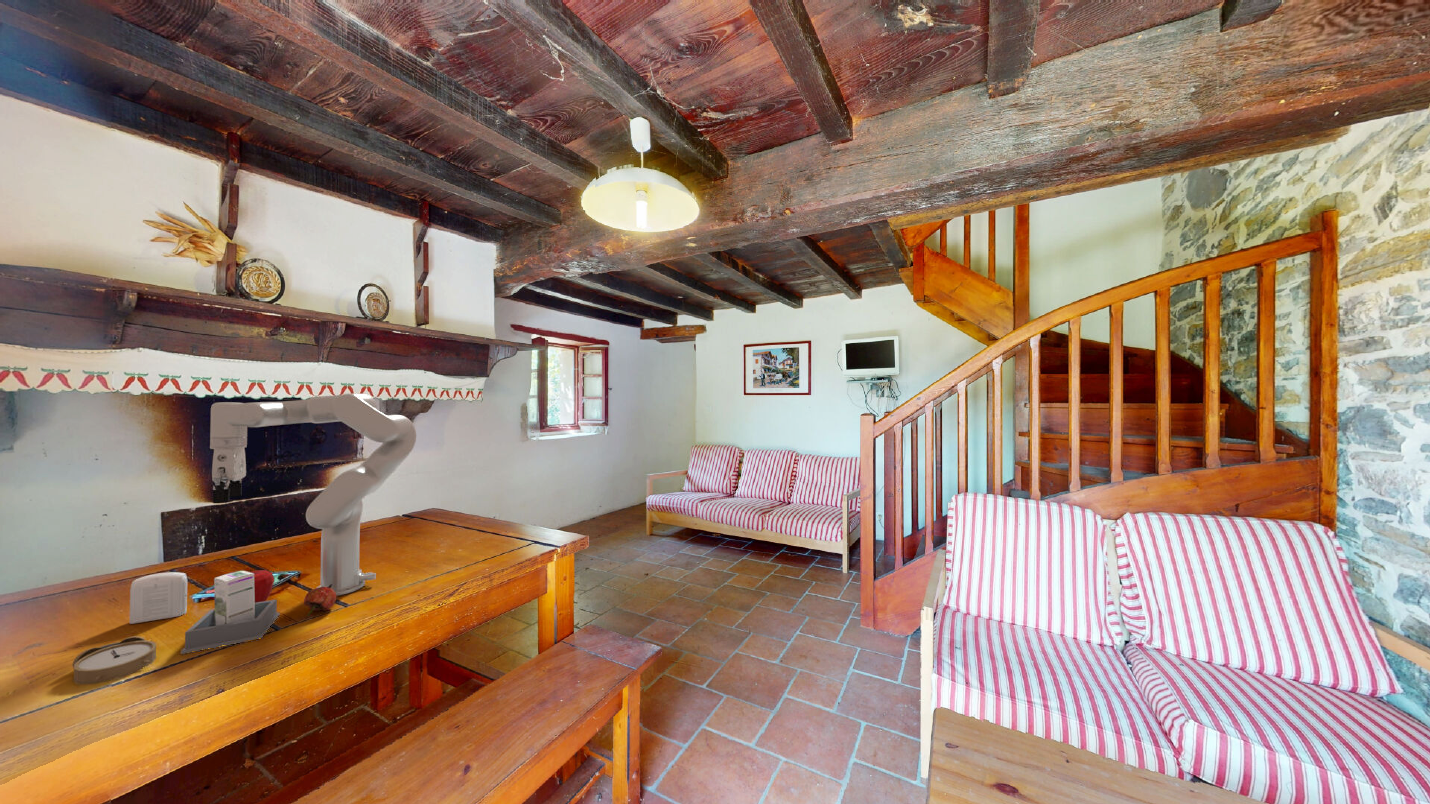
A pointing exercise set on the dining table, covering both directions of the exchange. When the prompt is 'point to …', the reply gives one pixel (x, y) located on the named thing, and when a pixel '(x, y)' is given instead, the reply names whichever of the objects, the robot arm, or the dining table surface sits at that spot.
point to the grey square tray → (230, 629)
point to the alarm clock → (113, 660)
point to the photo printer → (158, 597)
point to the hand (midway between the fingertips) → (227, 499)
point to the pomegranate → (320, 599)
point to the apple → (262, 584)
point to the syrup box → (234, 597)
